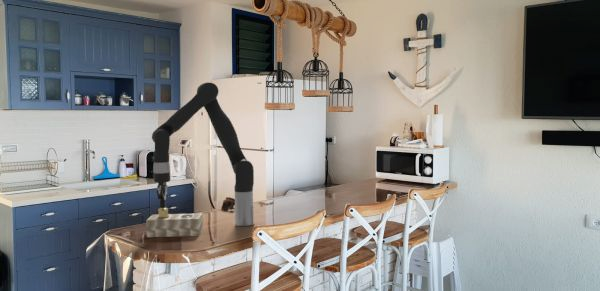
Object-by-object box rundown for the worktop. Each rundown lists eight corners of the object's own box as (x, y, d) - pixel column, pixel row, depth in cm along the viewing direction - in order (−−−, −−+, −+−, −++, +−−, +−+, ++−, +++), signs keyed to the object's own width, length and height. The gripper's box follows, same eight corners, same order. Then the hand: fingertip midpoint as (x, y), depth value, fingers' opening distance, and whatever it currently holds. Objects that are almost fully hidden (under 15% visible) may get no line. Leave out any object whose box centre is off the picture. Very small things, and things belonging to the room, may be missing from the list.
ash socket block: (202, 229, 235) (202, 213, 234) (199, 235, 223) (198, 218, 222) (153, 230, 234) (152, 214, 233) (146, 237, 222) (146, 220, 221)
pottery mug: (217, 210, 283) (222, 197, 286) (231, 215, 286) (236, 202, 289) (224, 208, 273) (229, 194, 276) (239, 214, 276) (243, 200, 279)
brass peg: (169, 222, 230) (168, 207, 229) (167, 224, 226) (166, 209, 225) (159, 222, 230) (159, 207, 229) (157, 224, 225) (157, 209, 225)
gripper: (166, 173, 219) (167, 210, 221) (172, 169, 233) (173, 204, 234) (150, 173, 219) (151, 210, 220) (157, 170, 232) (158, 205, 233)
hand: (162, 207), depth 227 cm, fingers closed
